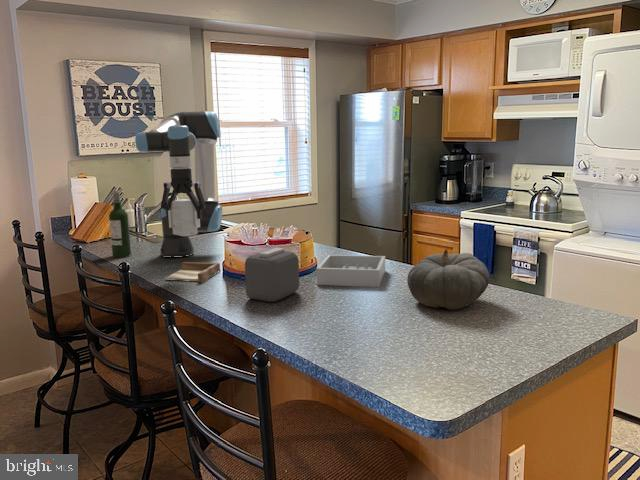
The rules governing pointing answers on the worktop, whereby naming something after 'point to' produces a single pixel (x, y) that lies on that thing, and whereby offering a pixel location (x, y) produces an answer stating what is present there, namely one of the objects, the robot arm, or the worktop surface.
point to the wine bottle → (119, 229)
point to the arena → (195, 271)
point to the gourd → (448, 280)
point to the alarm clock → (271, 275)
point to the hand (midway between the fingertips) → (184, 227)
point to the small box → (183, 217)
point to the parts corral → (351, 270)
